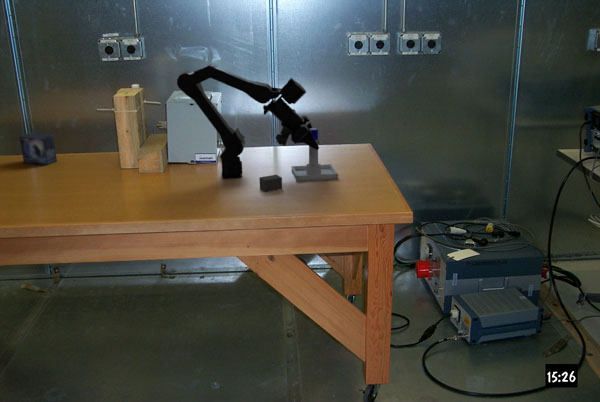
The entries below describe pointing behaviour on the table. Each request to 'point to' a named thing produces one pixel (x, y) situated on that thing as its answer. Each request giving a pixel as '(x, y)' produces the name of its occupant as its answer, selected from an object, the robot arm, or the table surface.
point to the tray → (326, 174)
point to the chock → (270, 183)
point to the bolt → (313, 157)
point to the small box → (38, 149)
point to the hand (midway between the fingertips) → (318, 146)
